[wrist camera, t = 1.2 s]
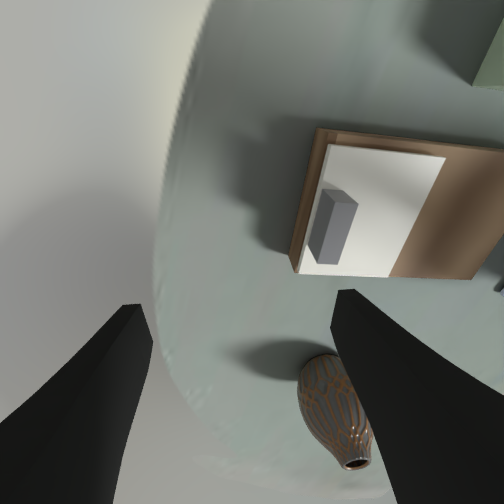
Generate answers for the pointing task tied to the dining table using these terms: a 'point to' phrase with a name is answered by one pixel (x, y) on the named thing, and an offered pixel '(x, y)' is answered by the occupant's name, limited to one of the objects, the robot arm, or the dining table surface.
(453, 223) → the wooden tray
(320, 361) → the vase
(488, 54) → the block
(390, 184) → the cover
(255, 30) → the dining table surface
